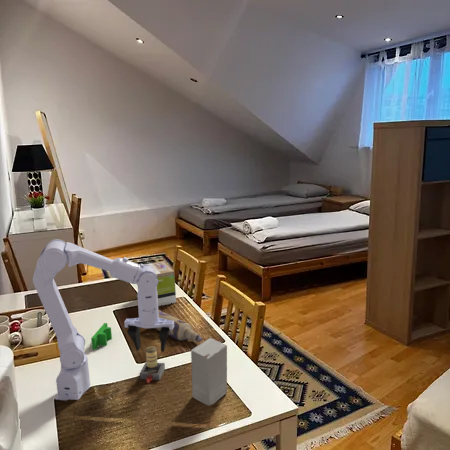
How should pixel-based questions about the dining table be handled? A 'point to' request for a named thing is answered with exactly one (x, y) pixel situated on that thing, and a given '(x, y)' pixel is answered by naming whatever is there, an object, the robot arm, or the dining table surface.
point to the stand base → (151, 375)
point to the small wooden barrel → (151, 356)
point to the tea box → (164, 283)
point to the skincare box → (209, 371)
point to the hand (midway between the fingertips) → (150, 349)
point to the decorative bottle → (180, 329)
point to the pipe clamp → (101, 336)
